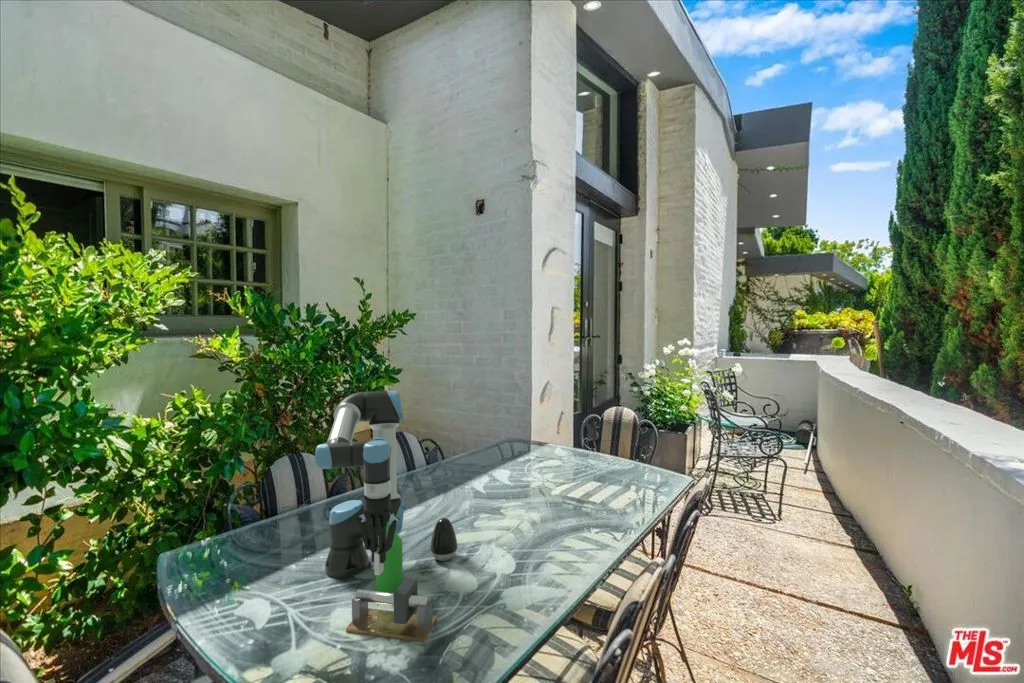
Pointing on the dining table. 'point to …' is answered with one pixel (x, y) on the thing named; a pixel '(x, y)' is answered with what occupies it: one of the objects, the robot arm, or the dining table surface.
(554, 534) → the dining table surface
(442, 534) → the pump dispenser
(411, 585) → the grey sliding block
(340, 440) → the robot arm
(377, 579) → the bottle
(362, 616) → the pipe stand
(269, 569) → the dining table surface
